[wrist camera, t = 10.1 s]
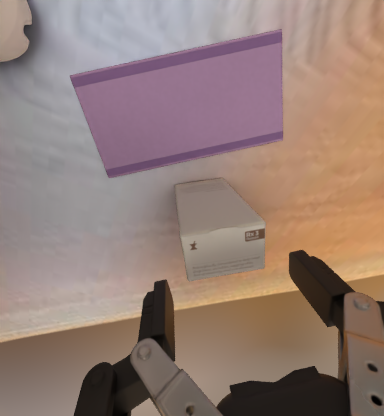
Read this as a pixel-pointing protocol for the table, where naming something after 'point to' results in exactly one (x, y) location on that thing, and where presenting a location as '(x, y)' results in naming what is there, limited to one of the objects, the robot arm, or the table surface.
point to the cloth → (185, 104)
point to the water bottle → (13, 28)
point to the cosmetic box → (218, 230)
